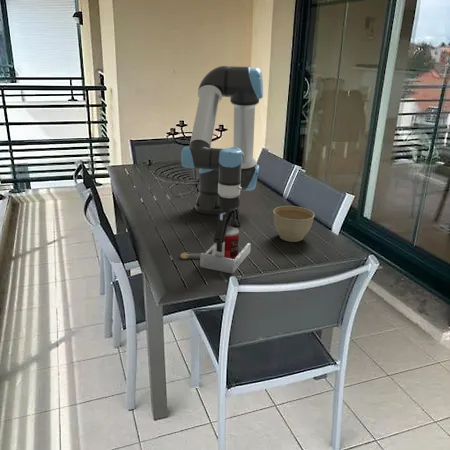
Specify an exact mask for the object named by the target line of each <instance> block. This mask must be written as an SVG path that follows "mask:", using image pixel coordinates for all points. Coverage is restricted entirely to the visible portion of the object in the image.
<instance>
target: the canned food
mask: <svg viewBox="0 0 450 450" xmlns="http://www.w3.org/2000/svg"><path fill="white" fill-rule="evenodd" d="M239 239H240V230H239V228H238V229H237V228H234V227H232V226H228V227H227V231H226V235H225V238H224V242H225V247H224V257H226V258H231V259H235V258H236V257H237V256H238V254H239Z"/></svg>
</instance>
